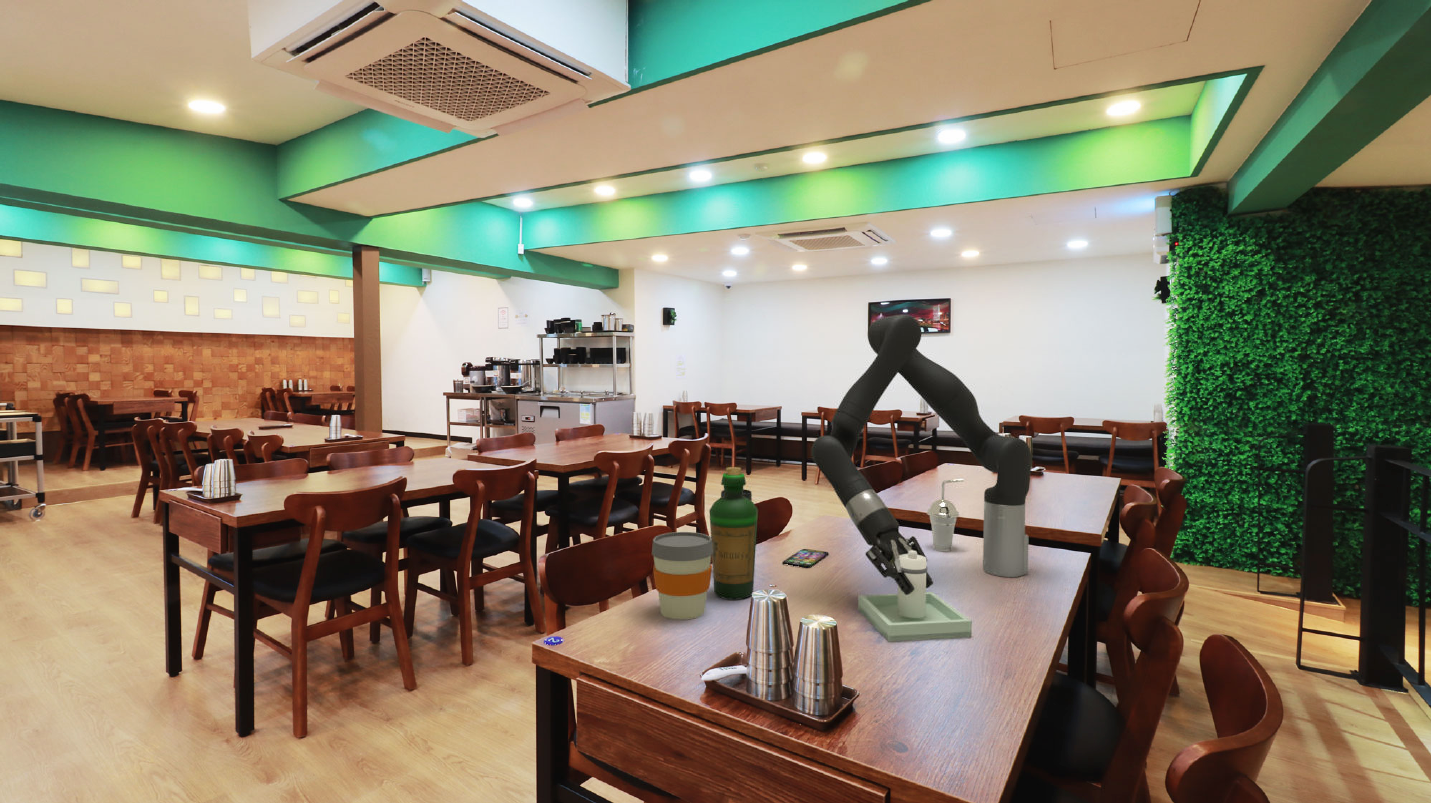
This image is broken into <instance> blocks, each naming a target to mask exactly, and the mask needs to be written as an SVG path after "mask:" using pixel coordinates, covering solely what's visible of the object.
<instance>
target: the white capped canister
mask: <svg viewBox="0 0 1431 803" xmlns="http://www.w3.org/2000/svg"><path fill="white" fill-rule="evenodd" d="M899 557H900V558H899V559H900V566H901V569H902V572H901V573H903V572H904V573H905V575H906V576H907V578H908V579H909V581H910V582H911V584H912V585H913V587H914V591H913V592H911V593H910V594H908V595H905V594H904V592H903V591H902V590H901V589H900V587H899V586H898V585H897V594H898V613H899V614H900V615H902V616H904V617H909V618H922V617H924V616H925V608H926V592H927V588H926V572H927V573H928V566H927V562H926V558H927V556H926V557H924V556H921V555H917V551H913V550H910V551H908V554H902V555H899Z"/></svg>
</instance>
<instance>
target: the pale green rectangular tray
mask: <svg viewBox="0 0 1431 803" xmlns="http://www.w3.org/2000/svg"><path fill="white" fill-rule="evenodd" d="M858 611H859V612H860V613H861V614H862V615H863V617H864V618H865V619H866V620H868V621H869V622H870V624H871V625H872V626H874V628H875V629H876V630H877V632H879V634H881V635H882V636H883V637H884V638H885V640H886V641H887V642H889V643H891V642H906V641H908V642H909V641H921V640H924V641H925V640H940V639H941V640H942V639H955V638H956V639H957V638H958V639H959V638H960V639H961V638H972V637H973V636H972V635H973V633H972V632H973V631H972V629H973V625H972V623H973V621H972V619H970V618H969V617H967V616H966V615H964V614H963V613H962V612H961V611H959V610H958V609H956V608H954V606H952V605H951V604H949V603H948V602H947V601H946V600H944V599H943V598H941V597H940V596H938V595H937V594H936V593H934V592H932V591H926V608H925V616H924V617H922V618H909V617H904V616H902V615H900V614H899V613H898V593H887V594H886V593H882V594H867V595H866V594H865V595H864V594H862V595H858Z"/></svg>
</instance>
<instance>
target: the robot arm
mask: <svg viewBox="0 0 1431 803" xmlns="http://www.w3.org/2000/svg"><path fill="white" fill-rule="evenodd" d="M921 340H922V328H921V325H920V323H919V321H918V319H917V318H916V317H914V316H912V315H909V314H895V315H889V316H884V317H880V318H879V319H876V320H874V321H872V323H871V324H870V326H869V327H868V331H867V341H868V344H869V345H870V347H871V349H872V351H873V352H874V353H875V354H876V357H875V358H874V360H873V362H872V363H871V364H870V365H869V367H868V368H867V369H866V370H865V372H864V373H863V374H861V376H860V377H859V378H858V379H857V380H856V381H855V382H854V383H853V384H852V385H851V386H850V388H849V389H848V390H847V392H846V394H845V395H844V397H843V398H842V399H841V401H840V403H839V405H838V407H837V408H836V411H835V413H834V414H833V416H832V419H831V427H832V428H831V432H830V434H829V435H821V436H819V437H817V438H816V439H815V440H814V441H813V443H812V446H811V449H810V454H811V458H812V460H813V461H814V462H813V463H815V465H816V466H817V468H818V469H819V470H820V471H821V473H822V474H823V476H824V477H825V478H826V480H827V481H828V482H829V483H830V485H831V486H832V488H833V491H834V492H835V494H836V495H837V497H838V500H839V501H840V502H841V504H842V505H843V507H844V508H845V510H846V512H847V513H848V516H849V518H850V520H851V521H852V523H853V524H854V526H855V527H856V528H857V530H858V531H859V533H860V535H861V537H862V538H863V539H864V541H865V542H866V544H867V545H868V546H871V547H870V548H869V549H868V550H867V551H866V552H865V557H866V558H867V559H868V560H869V561H870V562H871V564H872V565H873V566H874V568H875V569H876V570H877V571H878V572H879V573H880V574H881V576H882V577H883V578H888V577H889V578H891V579H893V580H894V581H895V583H896V584H897V587H898V586H899V587H900V589H901V590H902V591H903V592H904V594H905V595H908V594H910V593H911V592H913V591H914V587H913V585H912V584H911V582H910V581H909V579H908V578H907V576H906V575H905V573H904V572H903V573H901V572H902V569H901V566H900V559H899V558H900V557H899V555H902V554H908V551H910V550H913V551H917V555H921V556H924V557H926V563H927V562H928V558H927V556H926V555H925V553H924V551H923V549H922V547H921V545H920V544H919V542H918V539H917V538H916V537H915V536H913V535H912V536H911V537H909V538H905V536H903V535H902V534H901V532H900V531H899V530H900V524H899V522H898V521H897V519H896V518H895V517H894V516H893V514H892V512H891V511H890V509H889V507H888V506H887V505H886V503H885V502H884V501H883V500H882V497H880V495H878V494H877V492H876V491H875V490H874V488H873V487H872V485H871V484H870V483H869V481H868V480H867V478H866V477H865V476H864V475H863V474H862V473H861V472H860V471H859V469H858V468H857V467H856V465H855V463H854V462H853V460H852V458H853V455H854V453H855V450H856V447H857V445H858V441H859V438H860V435H861V433H862V431H863V430H864V428H865V426H866V424H867V422H868V421H869V419H870V417H871V415H872V414H873V413H872V412H873V411H874V410H875V407H876V406H877V404H878V402H879V401H880V399H881V397H882V396H883V394H884V393H885V391H886V390H887V389H888V387H889V385H890V384H891V382H892V381H893V380H894V378H895V377H896V375H897V374H899V375H900V376H901V377H902V378H904V380H905V381H906V382H907V383H908V385H910V386H911V388H913V389H914V391H916V393H917V394H918V395H919V396H920V397H921V398H922V399H923V401H925V403H926V404H927V405H928V406H929V407H930V408H931V409H932V410H933V411H934V412H935V414H936V415H937V416H938V417H940V419H942V421H944V423H946V425H947V426H948V427H949V428H950V429H951V430H952V431H953V432H954V433H955V434H956V435H957V436H958V437H959V438H960V439H961V440H962V441H963V443H964V444H965V445H966V447H967V448H968V449H969V451H970V452H971V454H972V455H973V457H974V458H976V460H977V461H978V463H979V464H980V465H981V466H982V467H983V468H984V469H985V470H987V471H989V472H992V473H994V474H995V473H996V474H997V476H996V477H997V478H996V482H995V485H994V486H990V487H988V488H986V489H985V490H984V492H983V493H984V494H983V500H984V501H983V540H982V541H983V545H982V546H983V547H982V548H983V549H982V550H983V551H982V553H983V555H982V570H983V572H985V573H987V574H990V575H993V576H998V577H1004V578H1006V577H1007V578H1018V577H1022V576H1024V575H1028V574H1029V537H1030V536H1029V535H1028V534H1026V498H1027V495H1028V493H1029V490H1030V482H1031V470H1032V468H1031V467H1032V452H1031V449H1030V446H1029V445H1028V443H1027V442H1026V441H1025V440H1024V439H1021V438H1018V437H1011V436H1006V435H1005V436H1004V435H1000V434H998V433H997V432H995V430H993V429H992V428H991V427H990V426H989V425H988V424H987V423H986V422H985V421H984V420H983V418H982V417H981V414H980V411H979V407H978V403H977V399H976V397H975V396H974V394H973V393H972V391H971V390H970V389H969V388H968V387H967V386H966V385H965V383H964V382H963V380H961V379H960V378H959V377H958V376H957V375H956V374H954V373H953V372H952V371H950V370H948V369H947V368H945V367H944V366H942V365H940V364H938V363H937V362H934V361H933V360H931V359H930V358H928V357H927V356H925V355H924V354H922V353H921V352H920V351H919V349H917V348H918V347H919V345H920V342H921ZM882 565H883V566H884V567H883V566H882ZM933 584H934V581H933V578H932V577H931V575H930V574H929V573H928V571H927V572H926V589H929V588H930V587H931V586H933Z"/></svg>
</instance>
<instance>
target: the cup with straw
mask: <svg viewBox="0 0 1431 803" xmlns="http://www.w3.org/2000/svg"><path fill="white" fill-rule="evenodd" d="M959 482H964V478H959V479H958V478H957V479H949V480H947V479H946V480H944V481H942V483H941V499H938V500H936V501H934V502H933V503H932V504H931V505H930V508H929V509H927V512H926V514H927V515H928V516H929V520H930V524H931V533H932V543H933V550H935V551H938V552H943V551H948V552H951V551H952V546H953V541H954V540H953V539H954V532H955V525H956V522H957V518H958V517H960V512H959V511H957V508H956V507H955V506H956V505H955V504H954V503H953V502H951V501H950V500H948V499H945V485H946V484H948V483H959Z"/></svg>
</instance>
